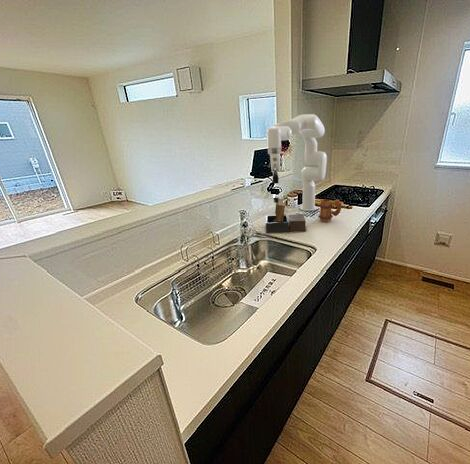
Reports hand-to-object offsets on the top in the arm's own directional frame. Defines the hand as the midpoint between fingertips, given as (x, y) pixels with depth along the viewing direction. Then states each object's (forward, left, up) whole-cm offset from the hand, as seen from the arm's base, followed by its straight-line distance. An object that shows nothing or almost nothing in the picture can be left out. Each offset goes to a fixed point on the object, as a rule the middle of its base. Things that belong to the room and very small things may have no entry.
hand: (275, 181), depth 147 cm
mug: (-9, +35, -30) cm, 47 cm away
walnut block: (-2, 0, -25) cm, 25 cm away
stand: (+1, +12, -30) cm, 32 cm away
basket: (+1, 0, -30) cm, 30 cm away
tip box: (+1, +5, -16) cm, 17 cm away
